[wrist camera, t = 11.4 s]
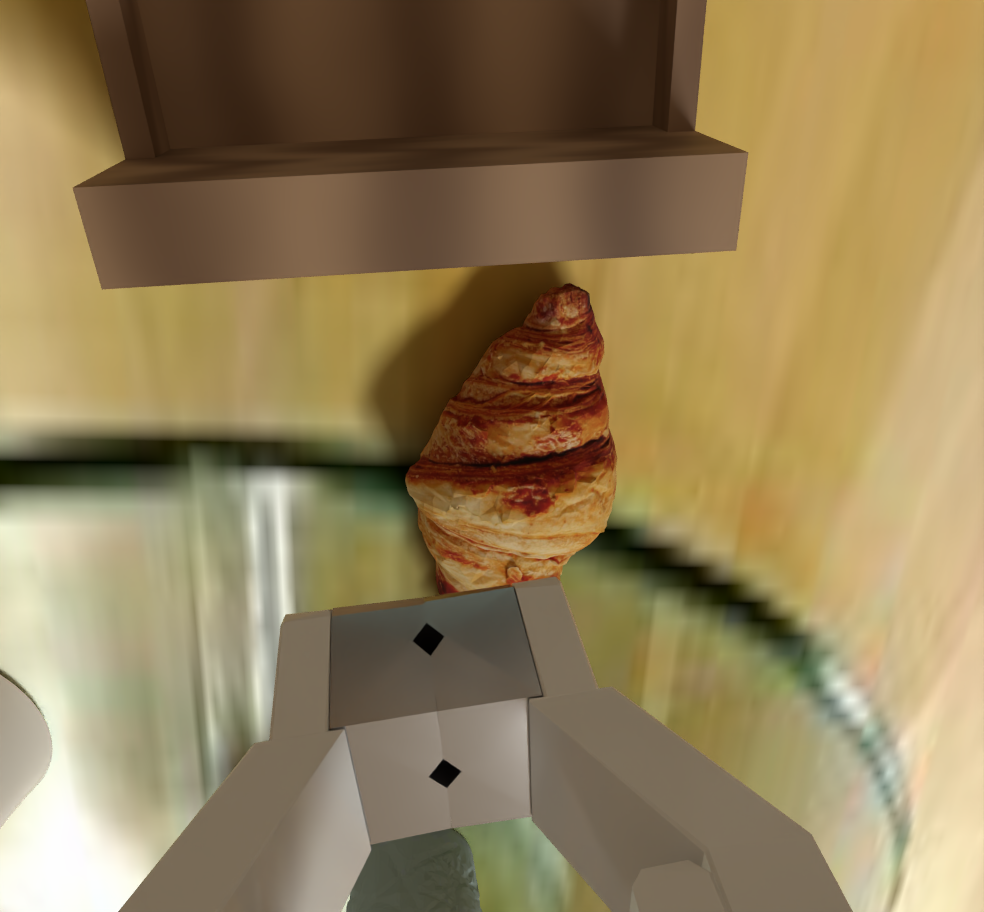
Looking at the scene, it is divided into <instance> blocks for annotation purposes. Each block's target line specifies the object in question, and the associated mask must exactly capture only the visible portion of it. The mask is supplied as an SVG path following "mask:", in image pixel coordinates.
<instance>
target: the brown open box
mask: <svg viewBox="0 0 984 912" xmlns="http://www.w3.org/2000/svg"><path fill="white" fill-rule="evenodd" d="M706 2H707V0H86V4H87V8H88V12H89V16H90V20H91V24H92V28H93V32H94V36H95V40H96V44H97V48H98V52H99V56H100V60H101V64H102V68H103V71H104V75H105V79H106V83H107V87H108V91H109V95H110V99H111V103H112V107H113V111H114V115H115V119H116V123H117V127H118V131H119V135H120V139H121V143H122V147H123V151H124V155H125V160H123V161H122V162H120V163H118V164H116V165H114V166H112V167H110V168H108V169H107V170H105V171H103V172H101V173H99V174H97V175H95V176H94V177H92V178H90V179H88V180H86V181H84V182H82V183H81V184H79V185H77V186H75V187H73V191H74V194H75V198H76V201H77V204H78V208H79V211H80V215H81V218H82V222H83V225H84V229H85V232H86V236H87V239H88V243H89V246H90V250H91V253H92V256H93V260H94V263H95V267H96V270H97V274H98V277H99V281H100V284H101V288H102V289H115V288H132V287H148V286H164V285H181V284H197V283H213V282H229V281H246V280H262V279H278V278H295V277H311V276H327V275H344V274H360V273H376V272H392V271H409V270H425V269H441V268H458V267H474V266H490V265H506V264H523V263H539V262H555V261H572V260H588V259H604V258H621V257H637V256H653V255H669V254H686V253H702V252H718V251H735V250H736V247H737V239H738V231H739V223H740V215H741V207H742V199H743V191H744V182H745V174H746V166H747V158H748V152H746V151H743V150H741V149H738V148H736V147H733V146H731V145H728V144H726V143H723V142H721V141H719V140H716V139H714V138H711V137H709V136H706V135H704V134H701V133H699V132H696V131H695V124H696V113H697V102H698V91H699V80H700V68H701V57H702V46H703V35H704V24H705V13H706Z"/></svg>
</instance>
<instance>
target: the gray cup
mask: <svg viewBox="0 0 984 912" xmlns="http://www.w3.org/2000/svg"><path fill="white" fill-rule="evenodd" d="M370 846H371V852H370V854H369V856H368V858H367V860H366V862H365V864H364V866H363V868H362V870H361V872H360V874H359V876H358V878H357V880H356V882H355V884H354V886H353V888H352V890H351V892H350V900H349V902H348V904H347V910H346V912H482V910H481V908H480V901H479V891H478V885H477V880H476V874H475V867H474V861H473V855H472V852H471V849H470V847H469V845H468V843H467V841H466V840H465V839H464V837H462V836H461V835H460V834H459V833H458V832H456V831H454V830H452V829H445V830H440V831H435V832H431V833H426V834H421V835H416V836H411V837H406V838H401V839H396V840H391V841H386V842H381V843H376V844H372V845H370Z"/></svg>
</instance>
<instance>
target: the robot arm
mask: <svg viewBox="0 0 984 912" xmlns="http://www.w3.org/2000/svg"><path fill="white" fill-rule="evenodd" d="M51 758H52V740H51V735H50V731H49V728H48V726H47V723H46V721H45V720H44V718H43V716H42V714H41V713H40V711H39V710H38V708H37V707H36V706H35V704H34V703H33V702H32V701H31V700H30V699H29V698H28V697H27V696H26V695H25V694H24V693H23V692H22V691H21V690H20V689H19V688H18V687H17V686H15V685H14V684H13V683H11V682H10V681H9V680H7V679H6V678H4V677H3V676H2V675H0V829H1V828H2V826H3V825H4V824H5V822H6V821H7V820H8V818H9V817H10V816H11V815H12V813H13V812H14V811H15V810H16V808H17V807H18V806H19V805H20V804H21V803H22V801H23V800H24V799H25V798H26V797H27V796H28V794H29V793H30V792H31V791H32V790H33V789H34V788H35V787H36V786H37V785H38V784H39V783H40V781H41V780H42V779H43V777H44V776H45V774H46V772H47V770H48V768H49V766H50V762H51ZM450 817H451V818H450ZM525 817H532V821H533V822H534V823H535V824H536V825H537V827H538V828H539V829H540V830H541V831H542V832H543V833H544V835H545V836H546V837H547V838H548V839H549V840H550V841H551V843H552V844H553V845H554V846H555V847H556V848H557V849H558V851H559V852H560V853H561V854H562V855H563V856H564V857H565V858H566V860H567V861H568V862H569V863H570V864H571V865H572V866H573V868H574V869H575V870H576V871H577V872H578V873H579V874H580V876H581V877H582V878H583V879H584V880H585V881H586V882H587V884H588V885H589V886H590V887H591V888H592V889H593V890H594V891H595V893H596V894H597V895H598V896H599V897H600V898H601V899H602V901H603V902H604V903H605V904H606V905H607V906H608V907H609V909H610V910H611V911H612V912H853V911H852V909H851V908H850V906H849V904H848V902H847V900H846V898H845V896H844V894H843V893H842V891H841V889H840V887H839V885H838V883H837V881H836V879H835V878H834V876H833V874H832V872H831V870H830V868H829V866H828V864H827V863H826V861H825V859H824V857H823V855H822V853H821V851H820V849H819V848H818V846H817V844H816V842H815V840H814V838H813V836H812V834H810V833H809V832H808V831H806V830H805V829H804V828H802V827H801V826H800V825H798V824H797V823H796V822H794V821H793V820H792V819H790V818H789V817H788V816H786V815H785V814H784V813H782V812H781V811H779V810H778V809H777V808H775V807H774V806H773V805H771V804H770V803H769V802H767V801H766V800H765V799H763V798H762V797H761V796H759V795H758V794H757V793H755V792H754V791H753V790H751V789H750V788H748V787H747V786H746V785H744V784H743V783H742V782H740V781H739V780H738V779H736V778H735V777H734V776H732V775H731V774H730V773H728V772H727V771H726V770H724V769H723V768H722V767H720V766H719V765H717V764H716V763H715V762H713V761H712V760H711V759H709V758H708V757H707V756H705V755H704V754H703V753H701V752H700V751H699V750H697V749H696V748H695V747H693V746H692V745H691V744H689V743H688V742H686V741H685V740H684V739H682V738H681V737H680V736H678V735H677V734H676V733H674V732H673V731H672V730H670V729H669V728H668V727H666V726H665V725H664V724H662V723H661V722H660V721H658V720H657V719H655V718H654V717H653V716H651V715H650V714H649V713H647V712H646V711H645V710H643V709H642V708H641V707H639V706H638V705H637V704H635V703H634V702H633V701H631V700H630V699H628V698H627V697H626V696H624V695H623V694H622V693H620V692H619V691H618V690H616V689H615V688H614V687H606V688H598V686H597V683H596V680H595V677H594V674H593V671H592V669H591V666H590V663H589V660H588V657H587V654H586V652H585V649H584V646H583V643H582V640H581V637H580V635H579V632H578V629H577V626H576V623H575V620H574V618H573V615H572V612H571V609H570V606H569V603H568V601H567V598H566V595H565V592H564V589H563V586H562V584H561V582H560V581H559V580H558V579H557V578H556V577H550V578H543V579H537V580H531V581H524V582H518V583H512V586H511V585H510V584H509V585H502V586H495V587H489V588H482V589H475V590H469V591H462V592H455V593H449V594H442V595H435V596H429V597H423V598H415V599H407V600H398V601H390V602H381V603H373V604H364V605H356V606H348V607H339V608H333V610H323V611H314V612H305V613H296V614H287V615H285V617H284V619H283V622H282V624H281V628H280V638H279V648H278V658H277V668H276V678H275V688H274V698H273V708H272V718H271V729H270V739H269V741H264V742H258V743H254V744H253V745H252V747H251V748H250V749H249V750H248V752H247V753H246V754H245V755H244V757H243V758H242V759H241V760H240V762H239V763H238V764H237V765H236V766H235V768H234V769H233V770H232V771H231V773H230V774H229V775H228V776H227V778H226V779H225V780H224V781H223V783H222V784H221V785H220V786H219V788H218V789H217V790H216V791H215V793H214V794H213V795H212V796H211V797H210V799H209V800H208V801H207V802H206V804H205V805H204V806H203V807H202V809H201V810H200V811H199V812H198V814H197V815H196V816H195V817H194V819H193V820H192V821H191V822H190V824H189V825H188V826H187V827H186V828H185V830H184V831H183V832H182V833H181V835H180V836H179V837H178V838H177V840H176V841H175V842H174V843H173V845H172V846H171V847H170V848H169V850H168V851H167V852H166V853H165V854H164V856H163V857H162V858H161V859H160V861H159V862H158V863H157V864H156V866H155V867H154V868H153V869H152V871H151V872H150V873H149V874H148V876H147V877H146V878H145V879H144V881H143V882H142V883H141V884H140V885H139V887H138V888H137V889H136V890H135V892H134V893H133V894H132V895H131V897H130V898H129V899H128V900H127V902H126V903H125V904H124V905H123V907H122V908H121V909H120V910H119V912H341V911H342V909H343V907H344V905H345V903H346V901H347V899H348V897H349V894H350V892H351V890H352V888H353V886H354V884H355V882H356V880H357V878H358V876H359V874H360V872H361V870H362V868H363V866H364V864H365V862H366V860H367V858H368V856H369V854H370V852H371V846H370V845H372V844H376V843H381V842H386V841H391V840H396V839H401V838H406V837H411V836H416V835H421V834H426V833H431V832H435V831H440V830H445V829H450V828H457V827H464V826H470V825H477V824H484V823H491V822H498V821H505V820H511V819H518V818H525ZM451 824H452V827H451Z"/></svg>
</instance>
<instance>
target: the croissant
mask: <svg viewBox="0 0 984 912" xmlns="http://www.w3.org/2000/svg"><path fill="white" fill-rule="evenodd" d="M603 355H604V341H603V338H602V335H601V333H600V331H599V329H598V327H597V324H596V322H595V318H594V313H593V310H592V307H591V305H590V298H589V293H588V292H587V291H585V290H583V289H581V288H580V287H576V286H574V285H573V284H571V283H569V284H565V285H564V286H562V287H561V288H558V287H553V288H550V289H549V290H548V291H547V292H546V293H545V294H541V295H540V296H539V298H538V299H537V301H536V302H535V303H534V306H533V309H532V311H531V313H529V314H528V316H527V318H526V319H525V320H524V323H523V326H521V327H517V328H514V329H512V330H510V331H508V332H507V333H505V334H504V335H503V336H501V337H500V338H498V339H497V340H495V341H493V342H492V343H491V345H490V346H489V348H488V349H487V351H486V352H485V354H484V355H483V356H482V358H481V360H480V361H479V363H478V365H477V367H476V368H475V370H474V371H473V372H472V374H471V376H470V377H469V378H468V379H467V380H466V381H465V382H464V383H463V386H462V388H461V391H460V392H459V394H458V395H457V396H455V397H453V398H451V399H450V400H449V402H448V403H447V405H446V407H445V409H444V410H443V412H442V414H441V416H440V419H439V422H438V424H437V426H436V427H435V429H434V431H433V434H432V436H431V438H430V440H429V441H428V443H427V445H426V446H425V448H424V449H423V451H422V453H421V454H420V457H421V458H420V460H419V461H418V462H417V463H415V465H413V466H411V467H410V469H409V471H408V473H407V475H406V479H405V481H406V486H407V490H408V492H409V495H410V496H411V497H412V498H413V499H414V501H415V502H416V505H417V507H418V526H419V529H420V530H421V531H422V534H423V538H424V541H425V543H426V545H427V548H428V549H429V551H430V553H431V554H432V556H433V557H434V558H435V560H436V582H437V586H438V590H439V593H440V595H442V594H449V593H455V592H462V591H469V590H475V589H482V588H489V587H495V586H502V585H509V584H510V585H511V586H512V583H518V582H524V581H531V580H537V579H543V578H550V577H556V578H557V579H558V580H559V581H560V575H561V574H562V566H563V565H564V564H566V563H567V562H568V560H569V558H570V557H571V555H574V554H575V552H577V551H579V550H581V549H583V548H584V547H586V546H587V545H589V544H590V543H591V542H592V541H593V540H594V539H595V538H596V537H597V536H598V535H599V533H601V532H604V529H605V527H606V526H607V520H608V518H609V515H610V513H611V511H612V502H613V500H614V497H615V490H616V462H617V456H616V451H615V445H614V441H613V438H612V435H611V433H610V430H609V410H608V406H607V398H606V394H605V390H604V387H603V383H602V380H601V377H600V373H599V366H600V363H601V360H602V358H603Z"/></svg>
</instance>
